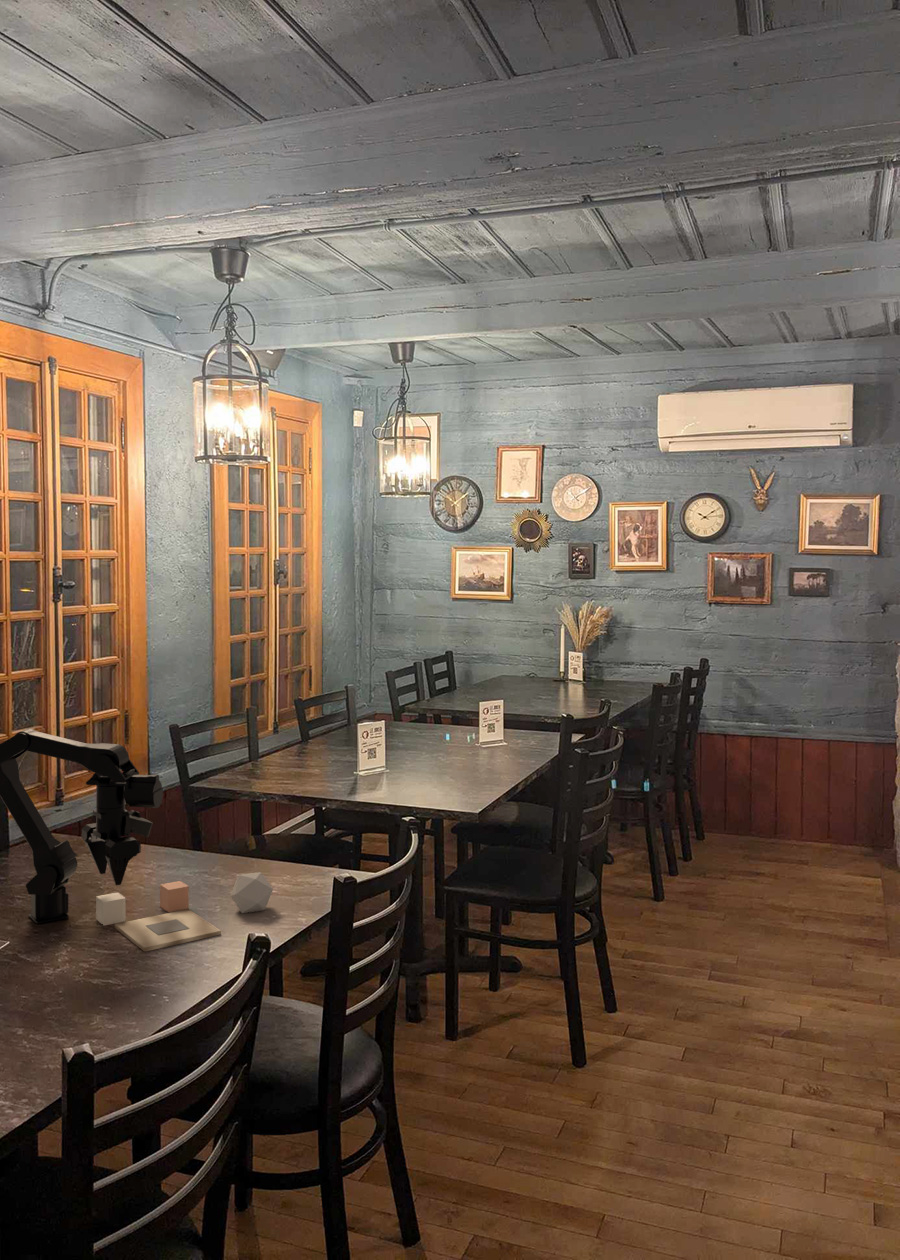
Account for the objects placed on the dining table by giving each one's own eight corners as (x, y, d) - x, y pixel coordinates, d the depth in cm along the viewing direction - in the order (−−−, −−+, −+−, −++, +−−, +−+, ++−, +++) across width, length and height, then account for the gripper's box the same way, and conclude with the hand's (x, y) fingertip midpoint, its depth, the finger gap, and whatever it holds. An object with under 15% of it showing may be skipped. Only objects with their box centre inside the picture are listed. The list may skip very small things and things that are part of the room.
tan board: (144, 951, 195) (144, 947, 195) (114, 927, 208) (114, 923, 208) (220, 934, 205) (220, 930, 205) (188, 912, 218) (188, 908, 218)
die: (267, 904, 226) (241, 869, 226) (286, 893, 220) (260, 858, 220) (242, 926, 220) (216, 891, 220) (262, 916, 214) (235, 880, 214)
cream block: (103, 925, 209) (103, 902, 209) (96, 919, 213) (96, 896, 212) (125, 921, 212) (125, 898, 212) (117, 915, 215) (117, 892, 215)
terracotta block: (168, 912, 218) (168, 889, 217) (160, 906, 221) (160, 884, 221) (188, 908, 221) (188, 886, 220) (180, 902, 224) (180, 880, 224)
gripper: (165, 809, 209) (164, 884, 209) (131, 792, 223) (131, 862, 224) (112, 817, 202) (111, 893, 203) (80, 799, 216) (80, 870, 217)
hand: (110, 879), depth 212 cm, fingers open, 9 cm apart
